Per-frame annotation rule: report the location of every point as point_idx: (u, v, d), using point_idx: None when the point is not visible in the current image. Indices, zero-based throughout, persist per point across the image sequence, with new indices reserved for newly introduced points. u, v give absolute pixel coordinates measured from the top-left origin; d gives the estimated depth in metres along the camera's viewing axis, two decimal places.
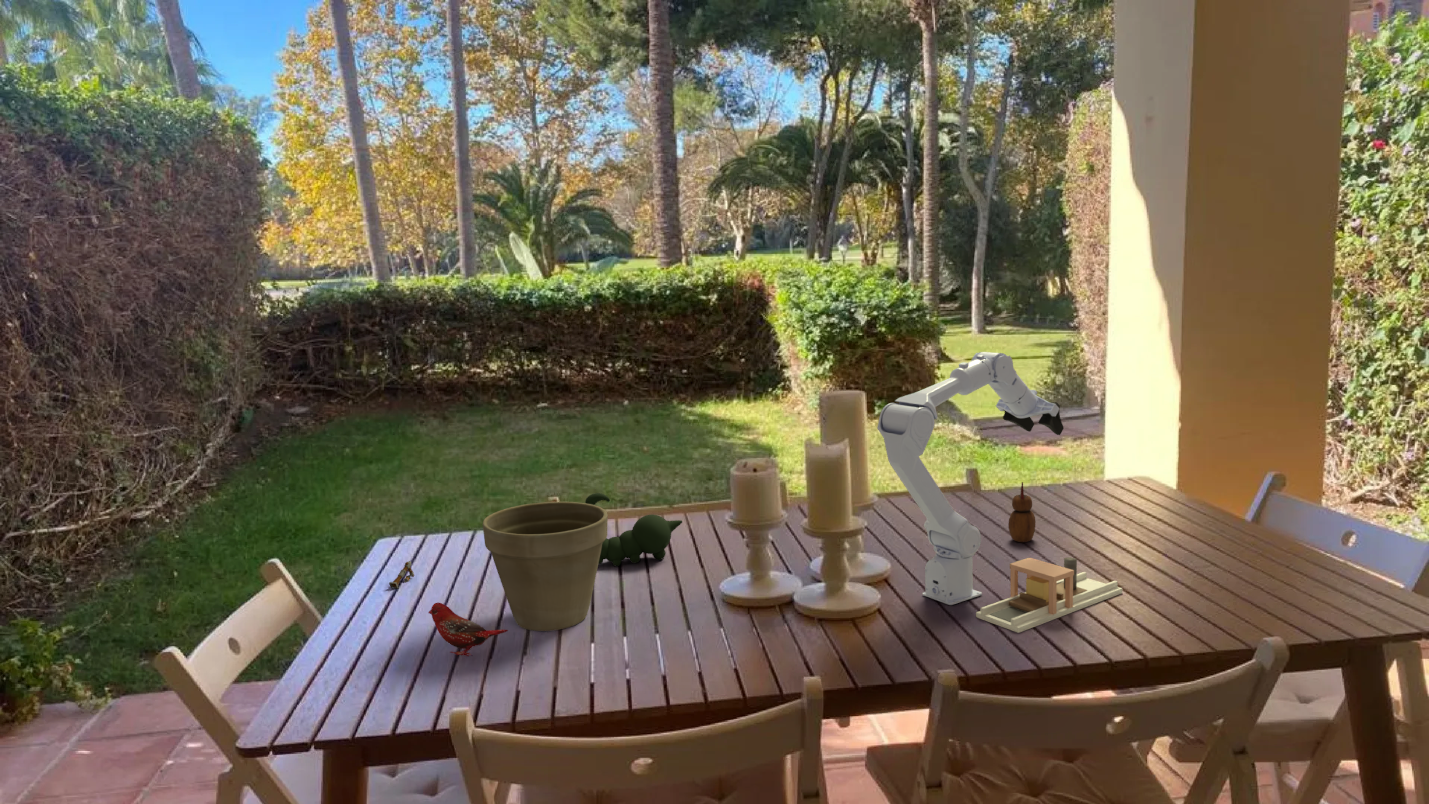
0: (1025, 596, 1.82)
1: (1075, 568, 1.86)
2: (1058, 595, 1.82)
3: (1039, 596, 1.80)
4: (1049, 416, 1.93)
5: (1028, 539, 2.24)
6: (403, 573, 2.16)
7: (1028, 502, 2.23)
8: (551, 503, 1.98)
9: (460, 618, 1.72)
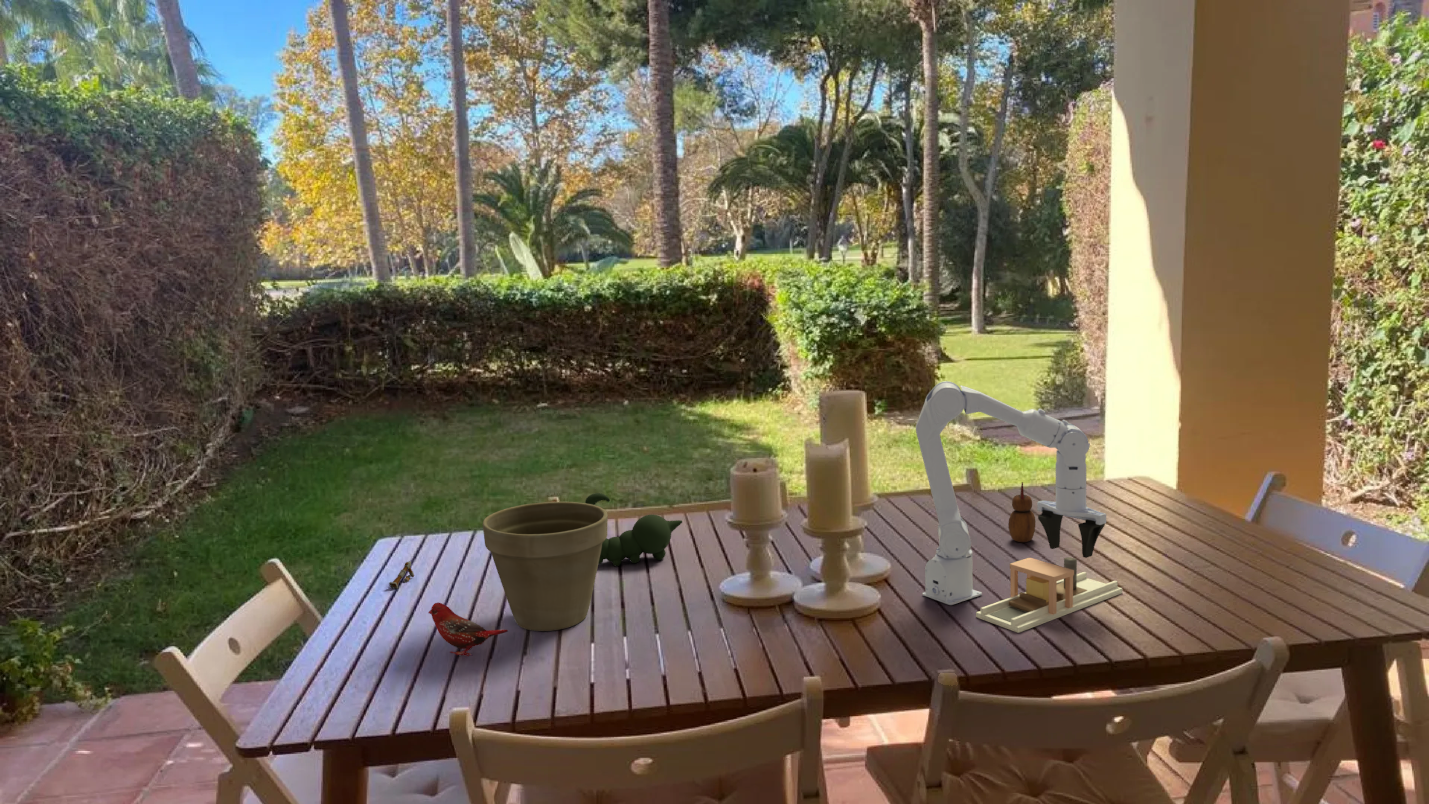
0: (1025, 596, 1.82)
1: (1075, 568, 1.86)
2: (1058, 595, 1.82)
3: (1039, 596, 1.80)
4: (1092, 524, 1.80)
5: (1028, 539, 2.24)
6: (403, 573, 2.16)
7: (1028, 502, 2.23)
8: (551, 503, 1.98)
9: (460, 618, 1.72)
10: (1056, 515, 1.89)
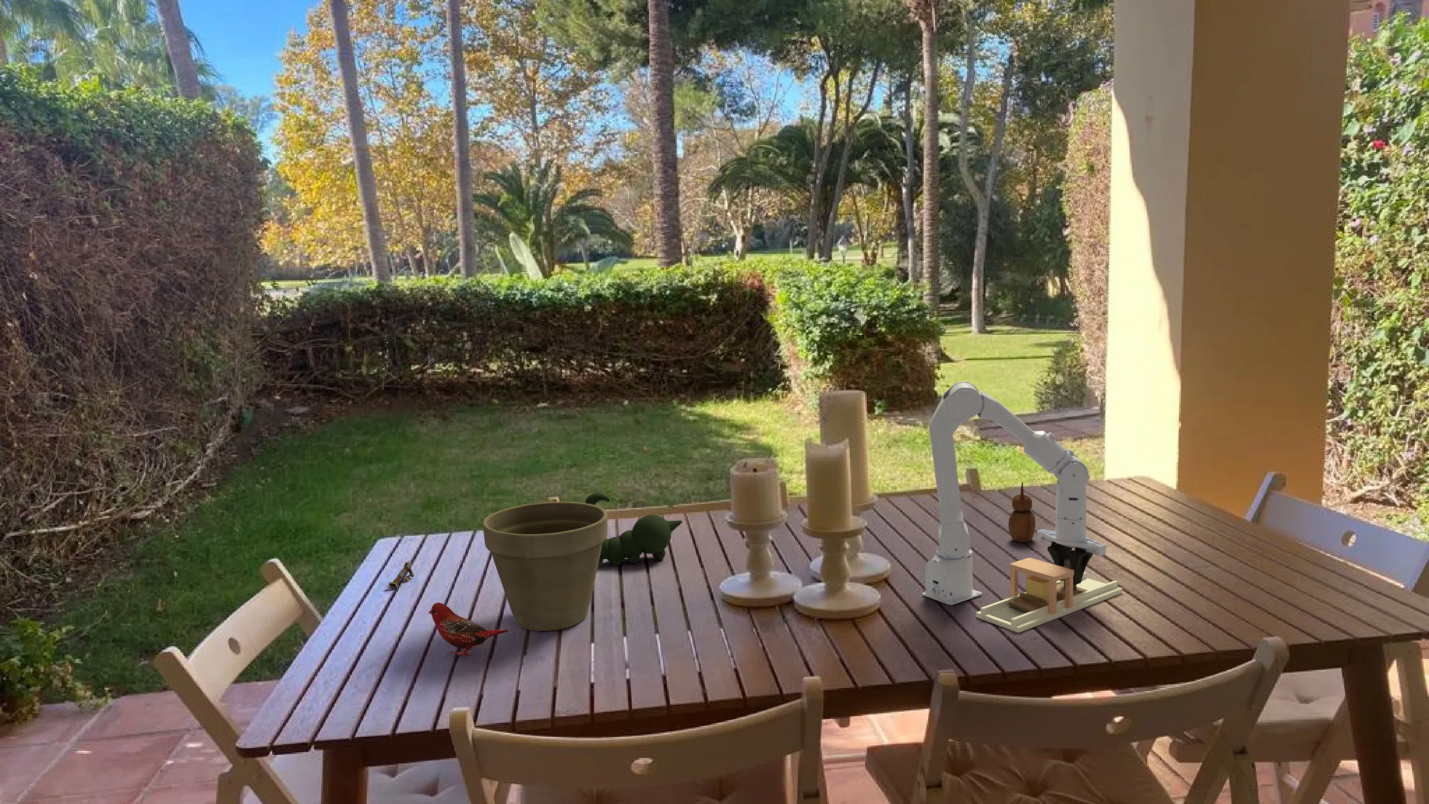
0: (1025, 596, 1.82)
1: None
2: (1058, 595, 1.82)
3: (1039, 596, 1.80)
4: (1081, 552, 1.83)
5: (1028, 539, 2.24)
6: (403, 573, 2.16)
7: (1028, 502, 2.23)
8: (551, 503, 1.98)
9: (460, 618, 1.72)
10: (1065, 547, 1.87)
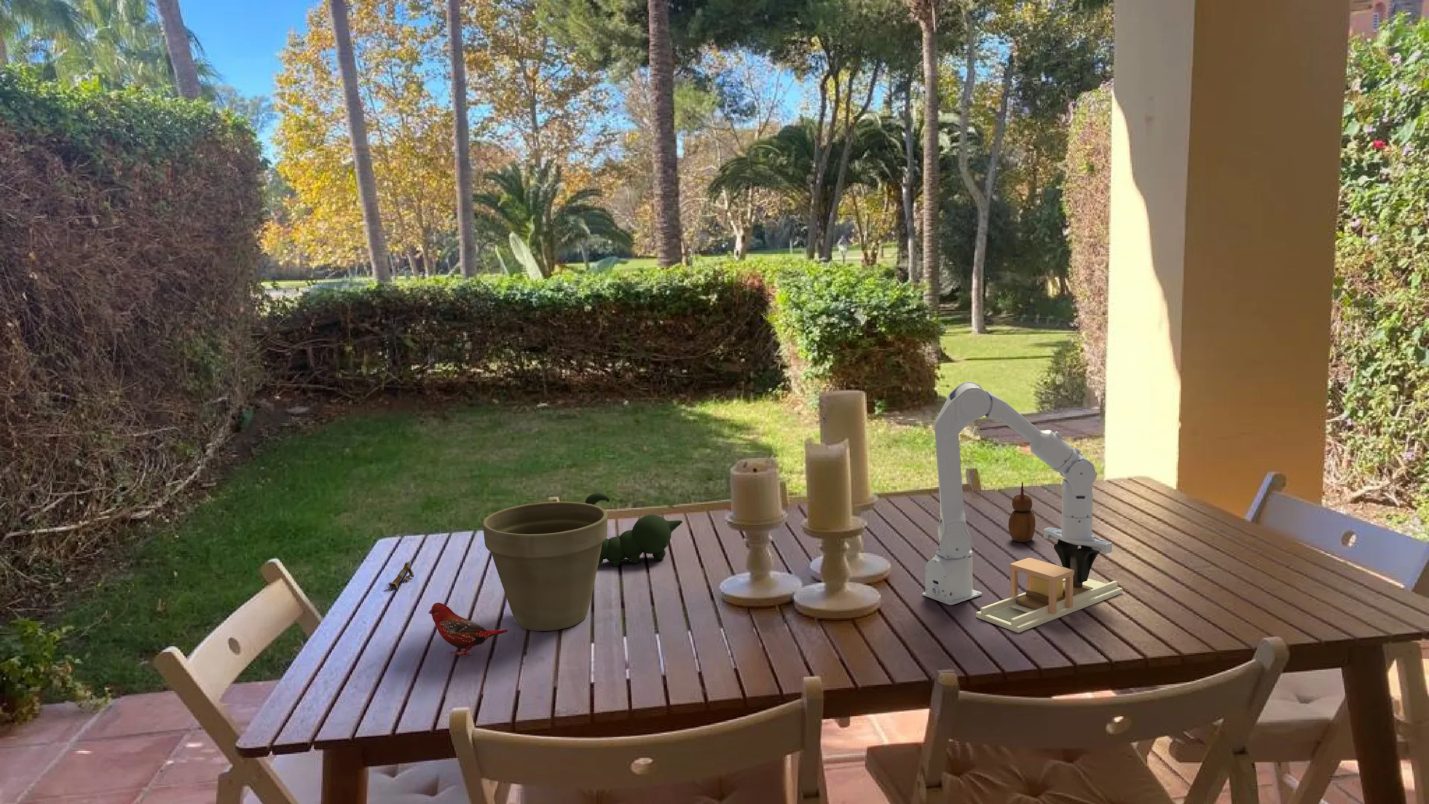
0: (1032, 594, 1.83)
1: None
2: (1064, 593, 1.83)
3: (1045, 594, 1.81)
4: (1088, 550, 1.84)
5: (1028, 539, 2.24)
6: (403, 573, 2.16)
7: (1028, 502, 2.23)
8: (551, 503, 1.98)
9: (460, 618, 1.72)
10: (1072, 545, 1.88)
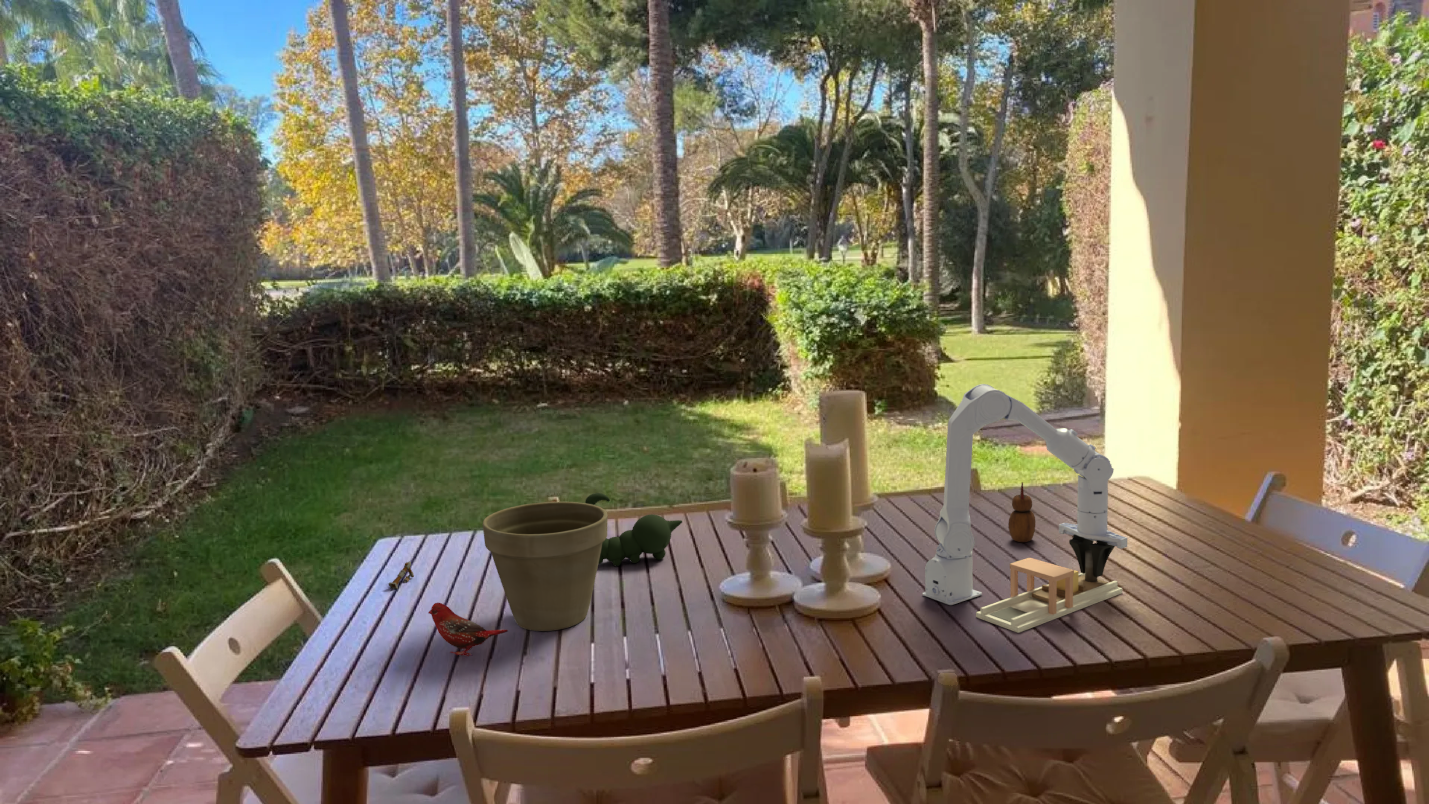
0: (1048, 588, 1.86)
1: None
2: (1080, 587, 1.85)
3: (1061, 588, 1.84)
4: (1103, 545, 1.86)
5: (1028, 539, 2.24)
6: (403, 573, 2.16)
7: (1028, 502, 2.23)
8: (551, 503, 1.98)
9: (460, 618, 1.72)
10: (1087, 540, 1.91)
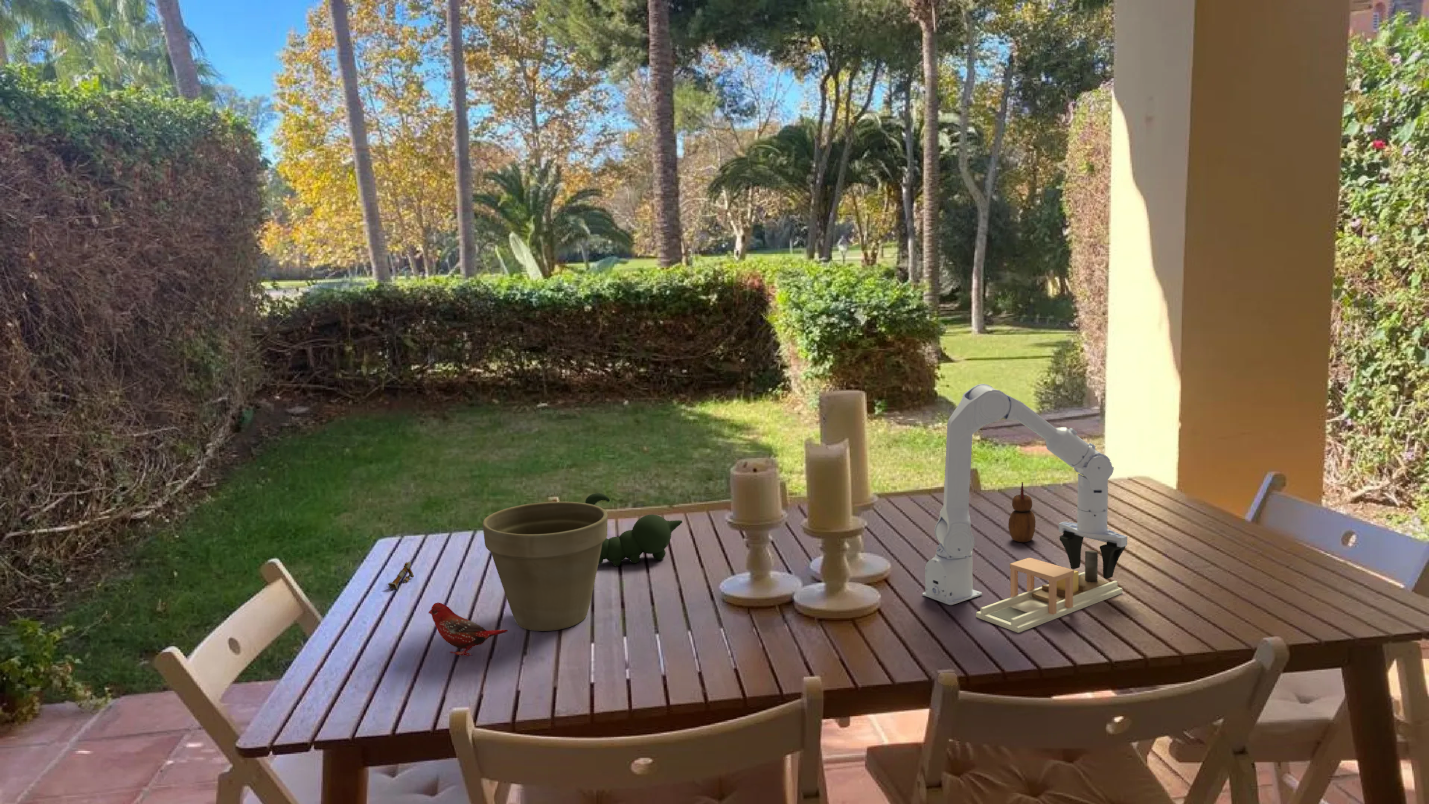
0: (1048, 588, 1.86)
1: (1096, 561, 1.89)
2: (1080, 587, 1.85)
3: (1061, 588, 1.84)
4: (1113, 546, 1.84)
5: (1028, 539, 2.24)
6: (402, 574, 2.15)
7: (1028, 502, 2.23)
8: (551, 503, 1.98)
9: (460, 618, 1.72)
10: (1077, 536, 1.93)
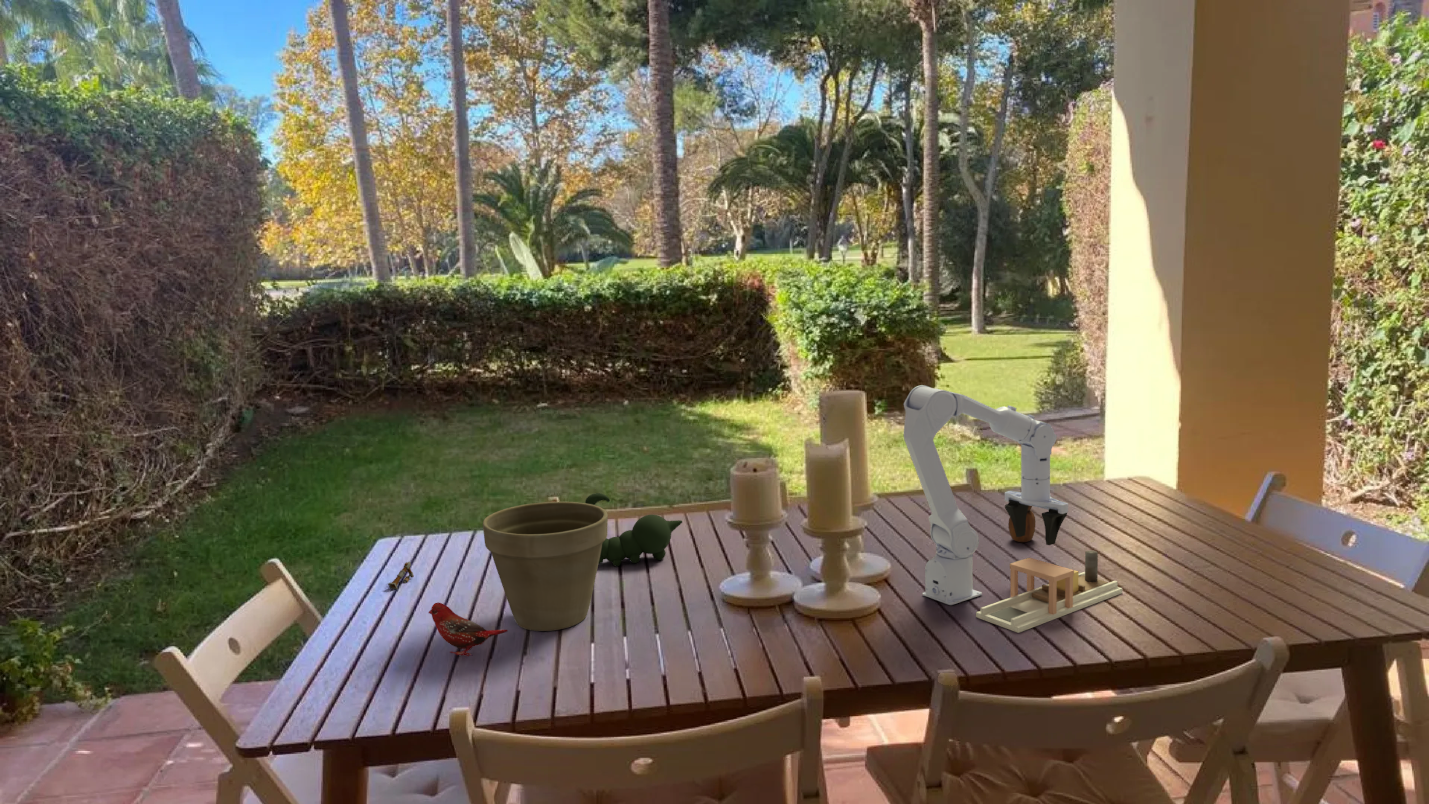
0: (1048, 588, 1.86)
1: (1096, 561, 1.89)
2: (1080, 587, 1.85)
3: (1061, 588, 1.84)
4: (1055, 513, 1.89)
5: (1028, 539, 2.24)
6: (402, 574, 2.15)
7: None
8: (551, 503, 1.98)
9: (460, 618, 1.72)
10: (1022, 505, 1.98)
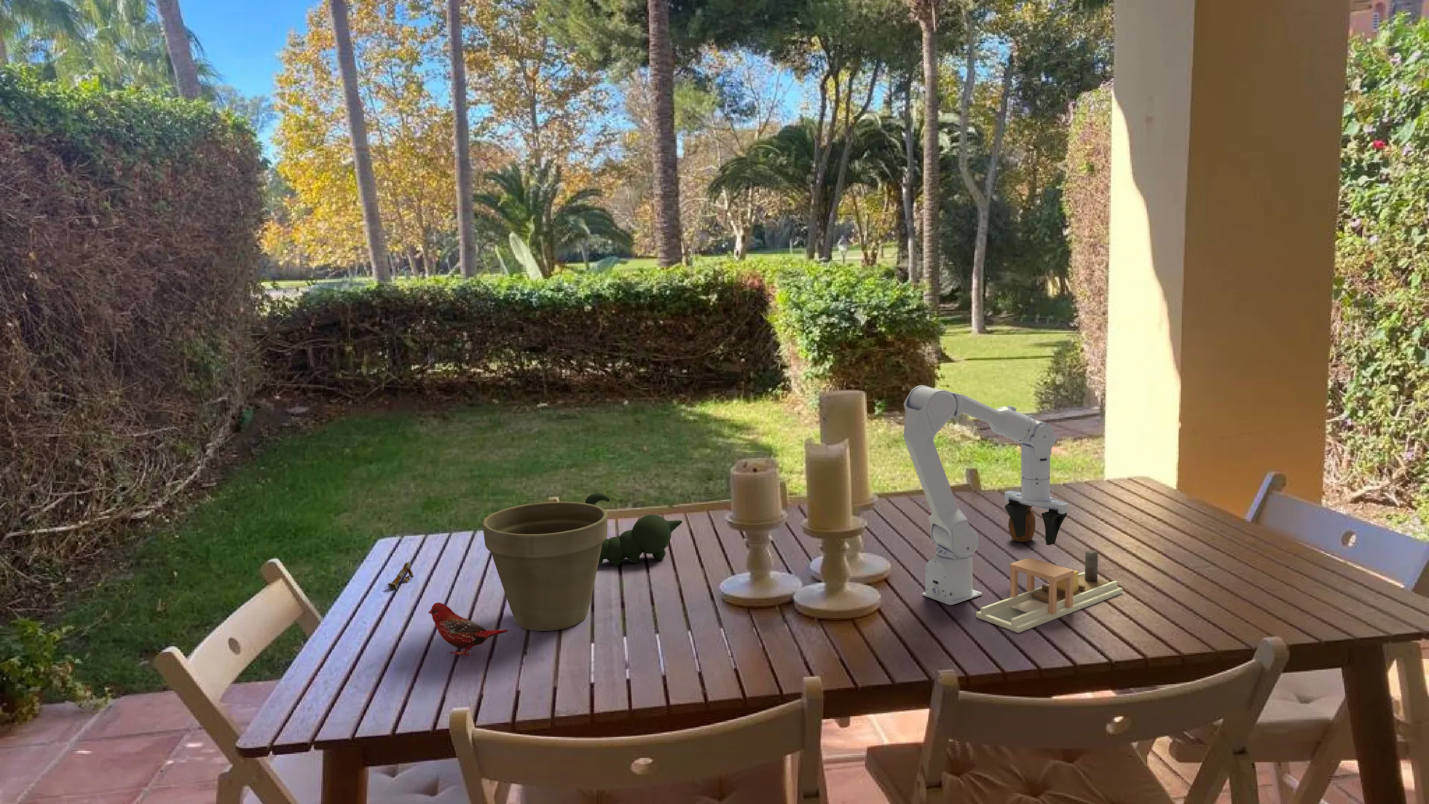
0: (1048, 588, 1.86)
1: (1096, 561, 1.89)
2: (1080, 587, 1.85)
3: (1061, 588, 1.84)
4: (1055, 513, 1.89)
5: (1028, 539, 2.24)
6: (402, 574, 2.15)
7: None
8: (551, 503, 1.98)
9: (460, 618, 1.72)
10: (1022, 505, 1.98)
